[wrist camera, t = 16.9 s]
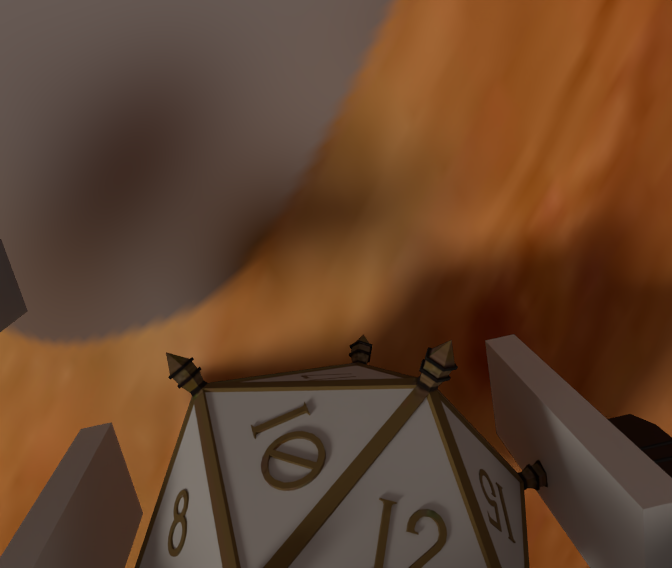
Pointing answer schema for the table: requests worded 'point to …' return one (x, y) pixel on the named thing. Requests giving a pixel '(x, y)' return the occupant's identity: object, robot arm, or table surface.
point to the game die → (335, 474)
